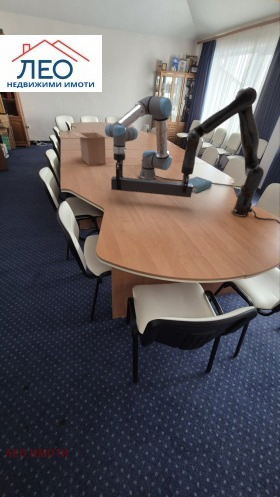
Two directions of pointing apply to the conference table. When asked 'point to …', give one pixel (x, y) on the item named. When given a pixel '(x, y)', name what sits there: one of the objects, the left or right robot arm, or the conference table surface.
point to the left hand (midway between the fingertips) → (119, 188)
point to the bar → (152, 186)
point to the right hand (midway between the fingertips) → (183, 190)
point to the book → (199, 184)
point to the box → (92, 146)
